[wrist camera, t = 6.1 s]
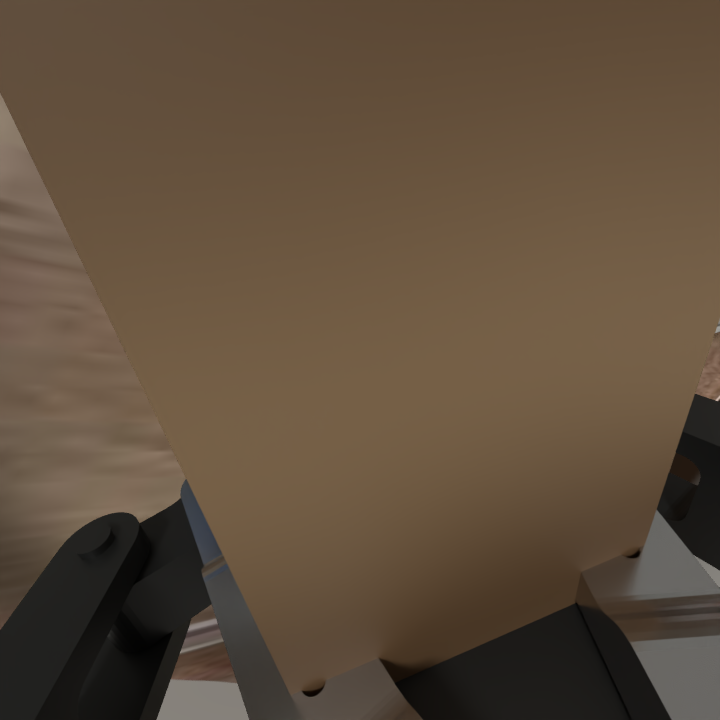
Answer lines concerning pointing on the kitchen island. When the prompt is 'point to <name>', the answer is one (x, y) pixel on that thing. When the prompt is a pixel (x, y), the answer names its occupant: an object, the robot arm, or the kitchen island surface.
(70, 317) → the kitchen island surface
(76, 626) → the robot arm
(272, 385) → the oak frame
